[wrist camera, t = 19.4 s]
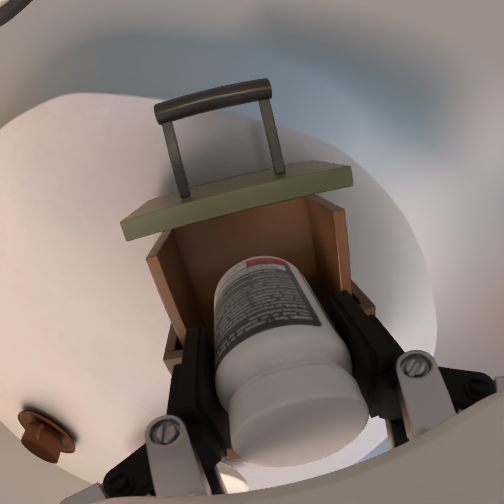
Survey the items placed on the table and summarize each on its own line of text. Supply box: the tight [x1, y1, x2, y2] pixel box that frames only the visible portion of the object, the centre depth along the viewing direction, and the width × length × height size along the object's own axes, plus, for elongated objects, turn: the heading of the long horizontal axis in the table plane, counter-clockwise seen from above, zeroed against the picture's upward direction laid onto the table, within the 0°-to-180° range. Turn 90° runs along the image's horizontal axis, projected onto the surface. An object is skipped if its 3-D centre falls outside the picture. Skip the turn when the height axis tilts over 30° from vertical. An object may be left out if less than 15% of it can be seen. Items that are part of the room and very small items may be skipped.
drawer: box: [120, 78, 353, 347], centre depth 19 cm, size 21×13×7 cm, turn 13°
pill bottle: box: [214, 256, 369, 467], centre depth 10 cm, size 5×5×8 cm
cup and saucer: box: [18, 411, 75, 463], centre depth 29 cm, size 12×12×6 cm
